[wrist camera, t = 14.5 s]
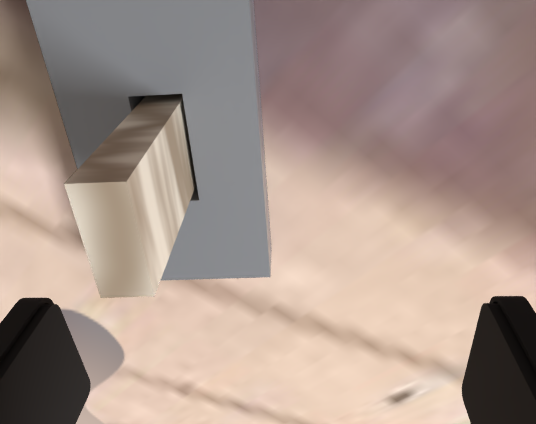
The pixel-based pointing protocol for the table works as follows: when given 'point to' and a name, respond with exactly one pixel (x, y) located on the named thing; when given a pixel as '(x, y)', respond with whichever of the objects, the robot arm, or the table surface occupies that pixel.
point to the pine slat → (135, 197)
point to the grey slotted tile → (195, 103)
